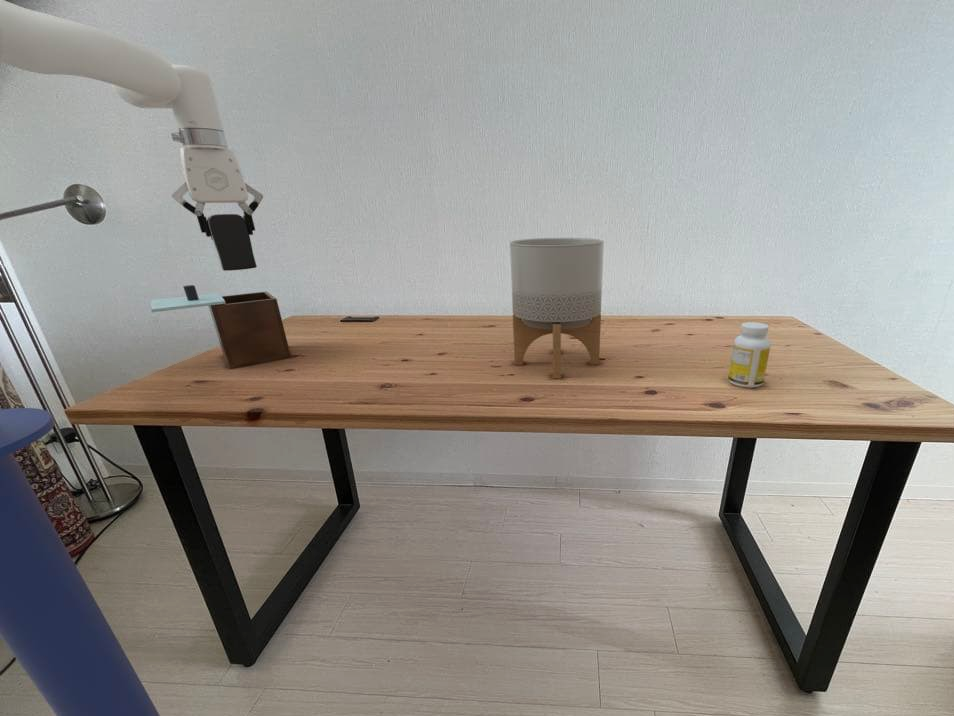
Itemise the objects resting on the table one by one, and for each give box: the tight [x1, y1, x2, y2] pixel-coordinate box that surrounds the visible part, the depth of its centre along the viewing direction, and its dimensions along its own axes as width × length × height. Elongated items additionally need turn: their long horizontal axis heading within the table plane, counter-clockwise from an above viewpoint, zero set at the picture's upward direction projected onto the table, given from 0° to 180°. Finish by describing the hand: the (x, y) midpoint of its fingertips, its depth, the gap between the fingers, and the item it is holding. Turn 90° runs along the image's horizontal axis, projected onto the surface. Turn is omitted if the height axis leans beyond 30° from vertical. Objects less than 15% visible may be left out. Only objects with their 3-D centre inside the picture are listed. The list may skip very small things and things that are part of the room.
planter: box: [509, 237, 605, 379], centre depth 97 cm, size 19×19×26 cm
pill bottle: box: [727, 321, 772, 389], centre depth 88 cm, size 6×6×12 cm
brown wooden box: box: [207, 290, 292, 370], centre depth 107 cm, size 13×13×14 cm
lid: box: [150, 284, 226, 313], centre depth 98 cm, size 13×13×4 cm
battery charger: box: [206, 213, 258, 272], centre depth 99 cm, size 7×4×11 cm, turn 135°
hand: (230, 234), depth 99 cm, fingers closed on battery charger, 7 cm apart
